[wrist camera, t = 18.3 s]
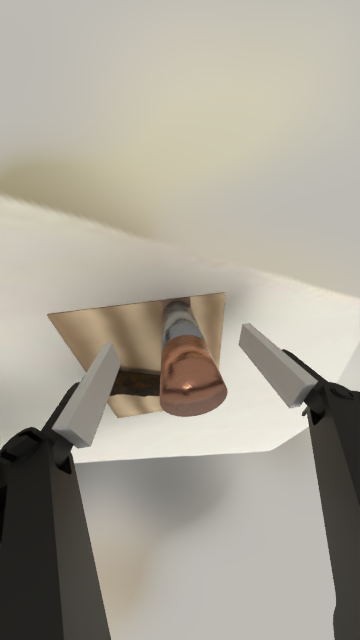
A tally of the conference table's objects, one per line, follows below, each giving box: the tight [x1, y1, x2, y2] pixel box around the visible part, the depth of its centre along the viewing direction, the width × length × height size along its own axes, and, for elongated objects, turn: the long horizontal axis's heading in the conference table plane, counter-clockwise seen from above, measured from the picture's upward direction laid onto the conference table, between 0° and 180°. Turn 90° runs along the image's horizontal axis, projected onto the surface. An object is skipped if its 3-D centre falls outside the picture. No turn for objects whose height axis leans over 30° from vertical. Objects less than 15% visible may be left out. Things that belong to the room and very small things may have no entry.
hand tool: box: [109, 370, 160, 397], centre depth 23 cm, size 19×4×5 cm, turn 72°
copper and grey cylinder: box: [160, 301, 227, 417], centre depth 13 cm, size 4×4×12 cm
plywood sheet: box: [47, 293, 226, 418], centre depth 24 cm, size 24×28×1 cm
